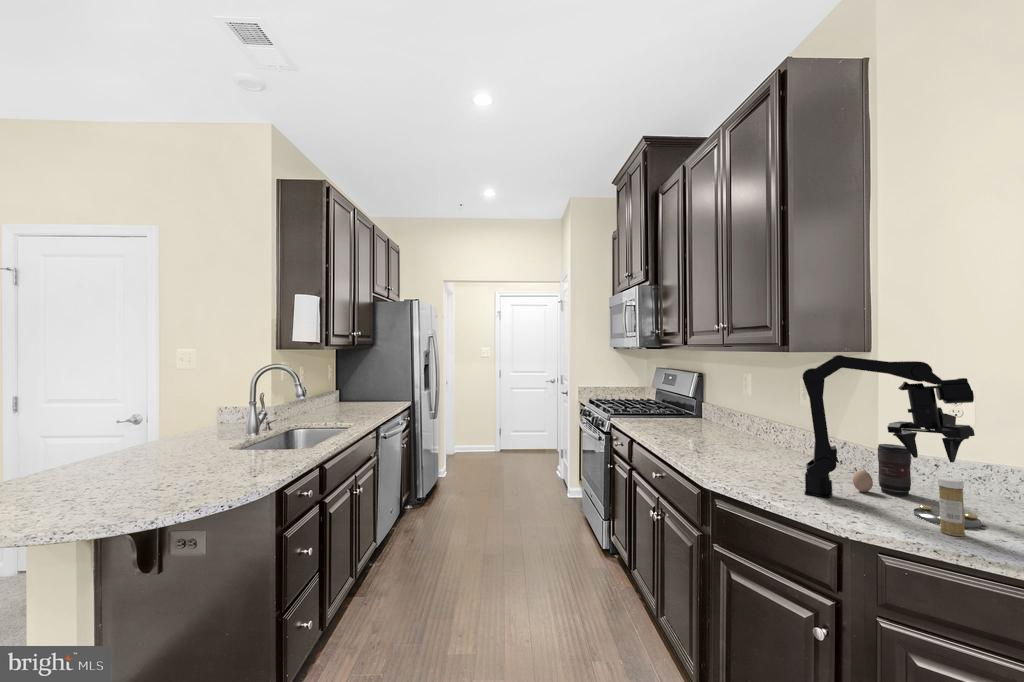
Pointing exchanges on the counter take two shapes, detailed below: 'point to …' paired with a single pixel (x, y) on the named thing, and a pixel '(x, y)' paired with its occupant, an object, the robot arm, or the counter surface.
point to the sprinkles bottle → (951, 506)
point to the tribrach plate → (934, 516)
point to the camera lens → (894, 469)
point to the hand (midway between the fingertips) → (933, 459)
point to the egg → (862, 481)
